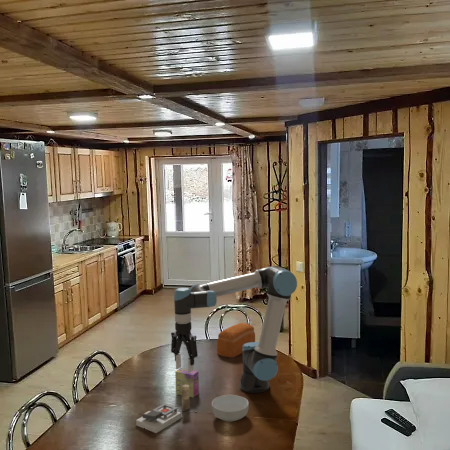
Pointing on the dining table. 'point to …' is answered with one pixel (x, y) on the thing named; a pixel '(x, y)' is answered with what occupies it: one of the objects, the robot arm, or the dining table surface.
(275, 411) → the dining table surface
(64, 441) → the dining table surface
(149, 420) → the box
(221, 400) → the cereal bowl
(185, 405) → the dowel
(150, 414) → the rocker
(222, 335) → the bread
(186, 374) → the box
